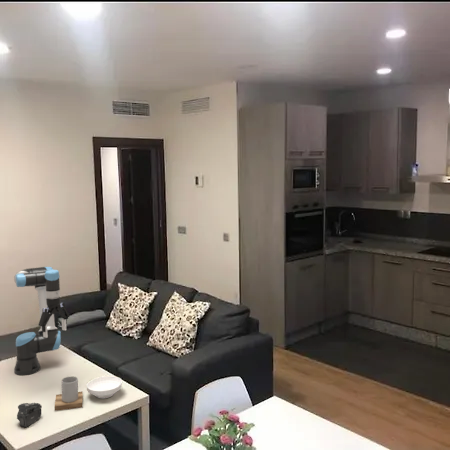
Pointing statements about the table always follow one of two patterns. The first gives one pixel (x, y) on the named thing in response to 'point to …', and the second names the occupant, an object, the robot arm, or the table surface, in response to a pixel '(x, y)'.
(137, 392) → the table surface
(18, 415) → the camera
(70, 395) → the mug
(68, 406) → the trivet
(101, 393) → the bowl
